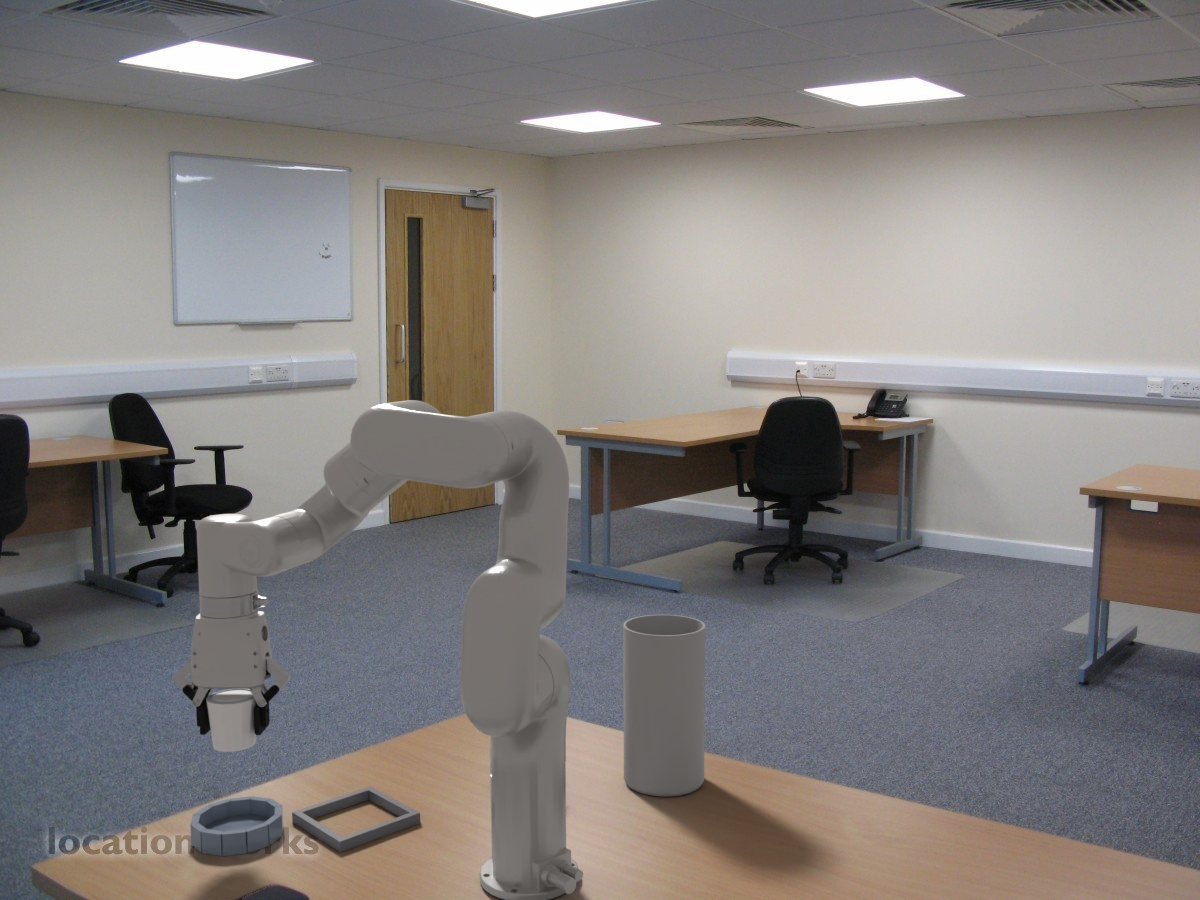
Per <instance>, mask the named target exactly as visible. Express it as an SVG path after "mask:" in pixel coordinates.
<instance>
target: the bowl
mask: <svg viewBox="0 0 1200 900" xmlns="http://www.w3.org/2000/svg"><path fill="white" fill-rule="evenodd" d="M283 832H284V809H283V805H282V804H281V803H279V802H277V801H276V800H274V799H273V798H269V797H261V796H254V795H252V796H240V797H232V798H226V799H224V800H220V801H219V800H218V801H217V802H213V803H211V804H207V805H206V806H204V807H202V808H200V809H199V810H198V811H196V812H194V813H193V815H192V818H191V820H190V840H191V843H190V844H192V845H191V846H192V847H193V846H194V847H195V848H196V849H195V848H194V847H193V848H194V849H195V850H197V851H198V852H199V853H201V854H204V855H211V856H218V857H226V856H228V857H229V856H236V855H243V854H249V853H253V852H255V851H259V850H262V849H264V848H266V847H269V846H271V845H272V844H274V843H275V842H277V840H279V839H280V838H282V836H283V834H284V833H283Z"/></svg>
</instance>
